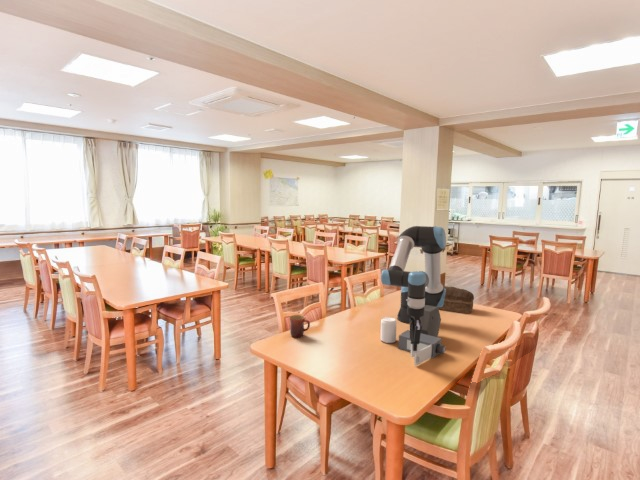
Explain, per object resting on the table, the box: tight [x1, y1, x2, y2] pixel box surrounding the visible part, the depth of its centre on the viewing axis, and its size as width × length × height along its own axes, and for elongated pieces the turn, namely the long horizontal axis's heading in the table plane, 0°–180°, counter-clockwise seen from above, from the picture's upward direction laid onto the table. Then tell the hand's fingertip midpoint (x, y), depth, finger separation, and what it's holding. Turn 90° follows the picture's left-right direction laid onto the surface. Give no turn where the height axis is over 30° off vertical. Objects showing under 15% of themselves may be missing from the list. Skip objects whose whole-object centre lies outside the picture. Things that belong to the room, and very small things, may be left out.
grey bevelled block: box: [420, 305, 442, 338], centre depth 194 cm, size 17×8×21 cm
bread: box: [438, 285, 475, 315], centre depth 251 cm, size 15×32×16 cm, turn 60°
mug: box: [288, 314, 311, 338], centre depth 197 cm, size 12×9×10 cm
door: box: [413, 344, 433, 367], centre depth 165 cm, size 14×2×7 cm, turn 132°
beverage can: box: [380, 316, 397, 344], centre depth 191 cm, size 8×8×12 cm
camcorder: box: [397, 329, 446, 359], centre depth 178 cm, size 21×10×8 cm, turn 52°
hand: (413, 356), depth 164 cm, fingers closed
